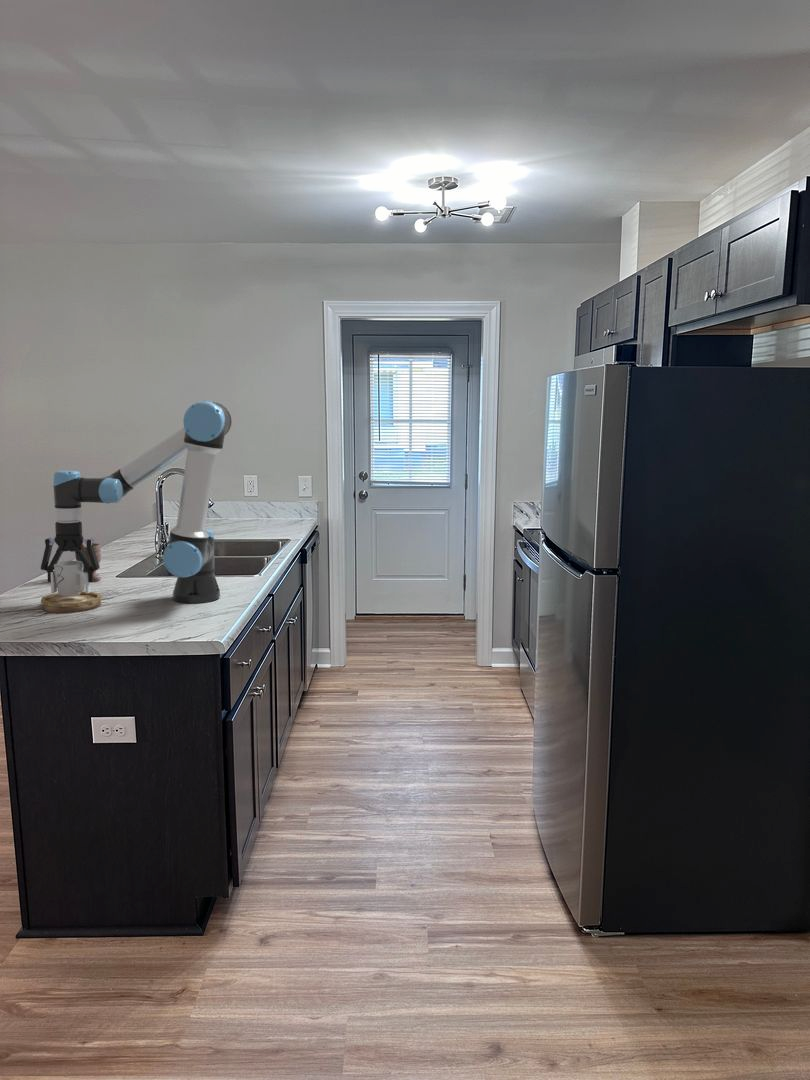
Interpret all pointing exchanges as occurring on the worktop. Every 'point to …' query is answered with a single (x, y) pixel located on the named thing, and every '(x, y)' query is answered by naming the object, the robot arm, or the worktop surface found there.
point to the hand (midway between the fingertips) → (71, 592)
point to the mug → (69, 577)
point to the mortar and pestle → (98, 554)
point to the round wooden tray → (71, 602)
